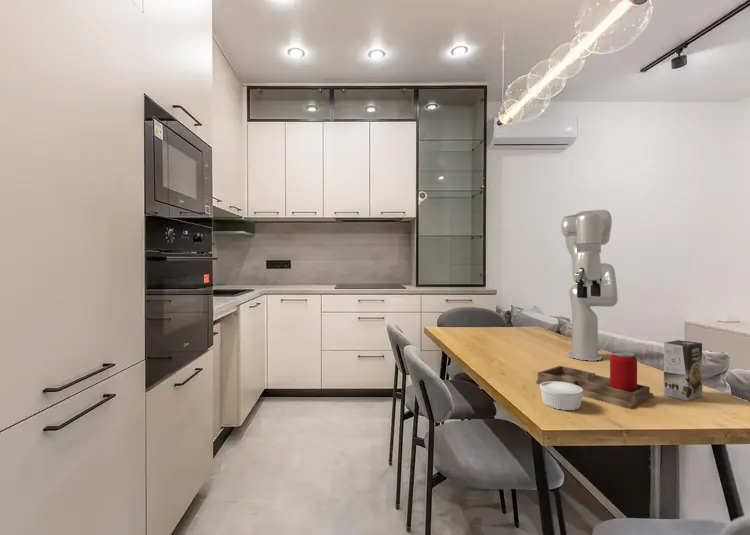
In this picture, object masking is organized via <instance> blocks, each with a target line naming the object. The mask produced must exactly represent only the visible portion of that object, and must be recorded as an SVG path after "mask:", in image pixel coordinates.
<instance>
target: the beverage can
mask: <svg viewBox="0 0 750 535" xmlns="http://www.w3.org/2000/svg"><path fill="white" fill-rule="evenodd" d="M609 378H610V387H611V388H615V389H620V390H624V391H628V392H634V391H636V390H637V384H638V359H637V358H636V356H635V354H634V353H632V352H627V351H619V350H618V351H613V352H612V354H611V355H610V356H609Z"/></svg>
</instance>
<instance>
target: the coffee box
mask: <svg viewBox="0 0 750 535" xmlns="http://www.w3.org/2000/svg"><path fill="white" fill-rule="evenodd" d="M663 396H668V397H671V398H675V399H678V400H681V401H685V402H689V401H693V400H695V399H698V398H701V397H703V343H702V342H696V341H691V340H690V341H688V340H679V339H677V340H676V339H675V340H672V341H666V342H663Z"/></svg>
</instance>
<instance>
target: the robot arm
mask: <svg viewBox="0 0 750 535" xmlns="http://www.w3.org/2000/svg"><path fill="white" fill-rule="evenodd" d="M612 223H613V220H612V215H611V212H609V211H608V210H607V209H593V210H581V211H578V212H576V213H575V214H570V215H566V216H564V217H563V218H562V220H561V227H560V229H561V233H562V235H563V236H564V237H565V238H564V239H565V245H566V248H567V251H568V253H569V255H570V257H571V260H572V262H571V263H572V264H571V266H572V279H573V281H574V283H575V284H573V285H572V286H570V288H569V300H570V304H571V305H570V306H571V326H572V327H571V328H572V329H571V334H572V336H571V337H572V338H571V341H572V343H571V344H572V349H571V350H572V351H570V352H568V355H569V356H568V357H569V358H571V359H574V358H575V359H574V360H578V359H579V361H585V360H588V362H589V361H590V362H596V361H597V360H599V361H601V359H602V360H603V356H602V355H601V354H599V351H601V346H599V340H598V339H599V334H598V333H599V327H598V325H599V324H598V323H599V321H598V320H599V319H598V318H599V317H598V315H597V313H596V312H595V311H594V310H593V309H592V308H591V307H605V308H606V307H609V308H610V307H614V306H616V304H618V299H619V294H618V288H617V287H618V286H617V276H616V271H615V268H614V266H613V265H612V264H611V263H605V262H602V263H601V255H600V254H601V253H602V246H605V245H607V244H608V243H609V241H610V238H611V231H612ZM597 362H598V361H597Z"/></svg>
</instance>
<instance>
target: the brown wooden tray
mask: <svg viewBox="0 0 750 535" xmlns="http://www.w3.org/2000/svg"><path fill="white" fill-rule="evenodd" d="M535 381H536V384H537V385H540V384H541V383H543V382H549V381H557V382H566V383H571V384H575V385H577V386H579V387H581V388H582V389H583V395H582V397H585V396H586V398H589V397H590V398H589V399H592V398H594V399H593V400H596V399H597V400H596V401H600V400H601V401H600V402H603V401H605V402H604V403H607V402H608V404H611V403H612V404H611V405H614V404H615V406H618V405H619V407H623V408H625V407H626V408H627V409H629V408H630V409H629V410H631V408H632V409H634V408H635V407H637V406H638V404H639V405H641V404H642V402H643V403H644V402H646V401H648V400H650V399H651V398H653V397H654V393H653V392H651V390H650V386H648V385H643V384H639V383H637V390H636V391H634V392H628V391H624V390H620V389H615V388H611V387H610V377H606V376H602V375H597V374H596V372H595V373H594V372H590V371H586V370H582V369H577V368H574V367H573V368H572V367H568V366H563V365H558V366H554V367H552V368H548V369H545V370H541V371H538V372H537V380H535ZM640 403H641V404H640ZM636 405H637V406H636Z"/></svg>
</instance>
